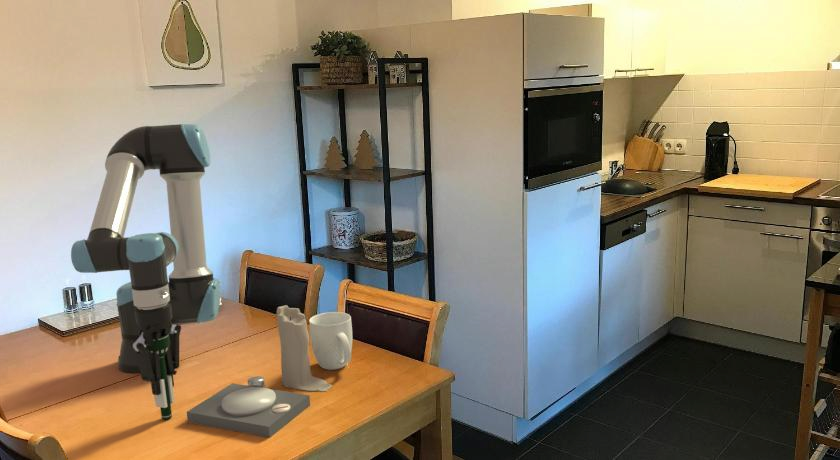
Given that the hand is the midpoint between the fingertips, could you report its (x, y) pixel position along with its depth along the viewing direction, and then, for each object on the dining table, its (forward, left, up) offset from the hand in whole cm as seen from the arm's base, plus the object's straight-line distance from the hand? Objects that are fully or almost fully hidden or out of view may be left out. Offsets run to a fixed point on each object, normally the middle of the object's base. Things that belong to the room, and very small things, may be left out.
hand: (165, 404), depth 155 cm
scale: (+17, +8, -3) cm, 19 cm away
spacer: (+10, +20, -4) cm, 23 cm away
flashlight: (0, 0, -4) cm, 4 cm away
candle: (+21, +26, -4) cm, 34 cm away
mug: (+22, +38, -4) cm, 44 cm away
